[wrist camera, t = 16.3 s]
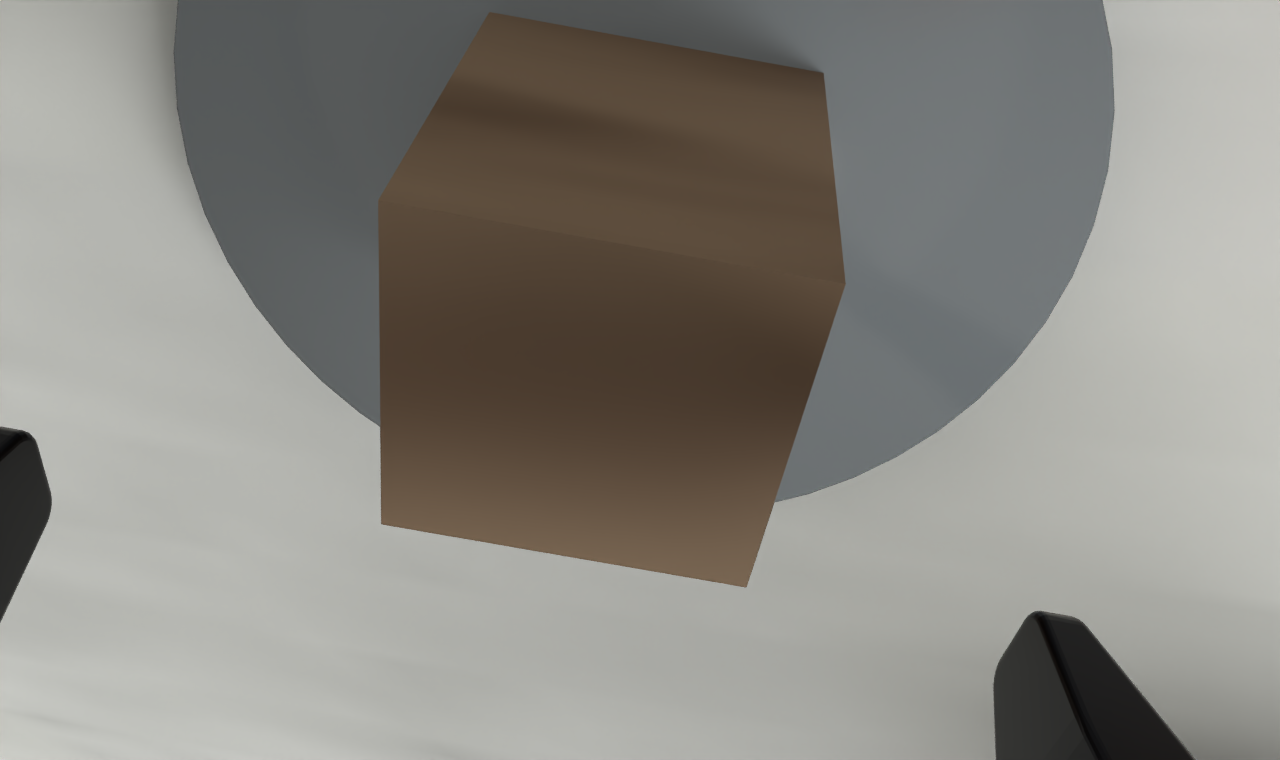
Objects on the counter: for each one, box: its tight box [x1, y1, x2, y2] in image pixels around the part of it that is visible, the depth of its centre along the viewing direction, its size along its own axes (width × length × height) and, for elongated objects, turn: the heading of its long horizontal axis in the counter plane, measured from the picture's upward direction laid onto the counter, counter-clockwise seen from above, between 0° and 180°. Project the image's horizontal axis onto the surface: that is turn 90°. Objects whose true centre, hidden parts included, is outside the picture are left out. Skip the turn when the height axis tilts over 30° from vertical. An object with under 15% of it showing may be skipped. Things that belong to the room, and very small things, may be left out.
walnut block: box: [378, 12, 846, 587], centre depth 13 cm, size 4×4×5 cm
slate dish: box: [174, 0, 1114, 502], centre depth 16 cm, size 13×13×1 cm
